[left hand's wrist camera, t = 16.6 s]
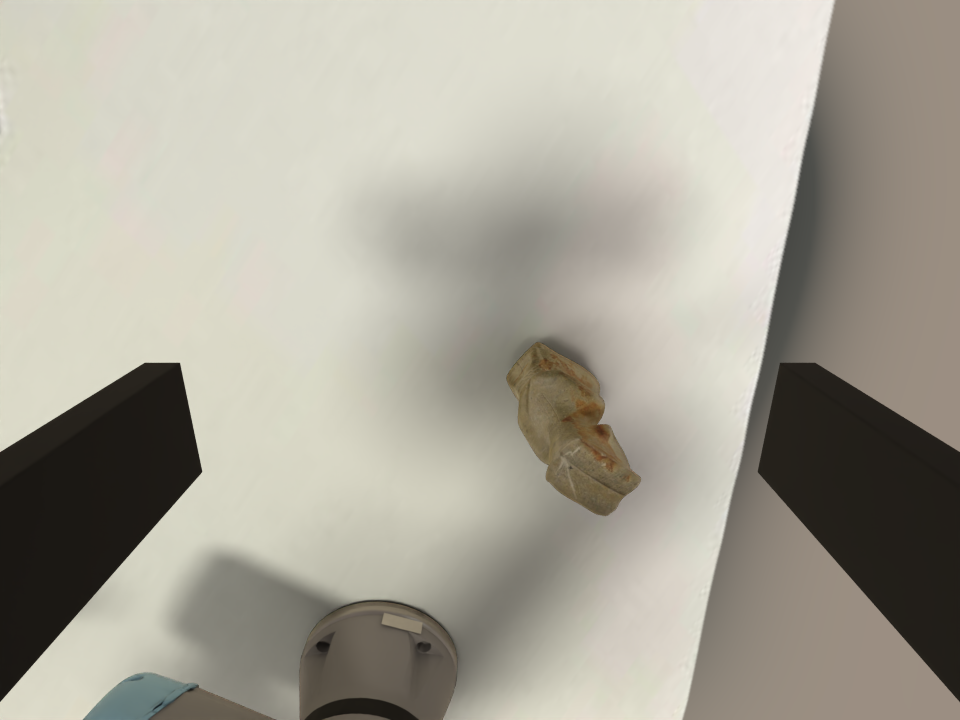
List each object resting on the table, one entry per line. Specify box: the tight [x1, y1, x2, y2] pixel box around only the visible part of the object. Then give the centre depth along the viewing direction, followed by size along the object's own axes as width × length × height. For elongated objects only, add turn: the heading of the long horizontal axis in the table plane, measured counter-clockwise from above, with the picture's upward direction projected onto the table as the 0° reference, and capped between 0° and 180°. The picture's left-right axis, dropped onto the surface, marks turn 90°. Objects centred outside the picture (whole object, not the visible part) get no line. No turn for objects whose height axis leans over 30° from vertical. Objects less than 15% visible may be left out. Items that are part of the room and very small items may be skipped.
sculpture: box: [506, 342, 641, 516], centre depth 37 cm, size 6×7×15 cm
